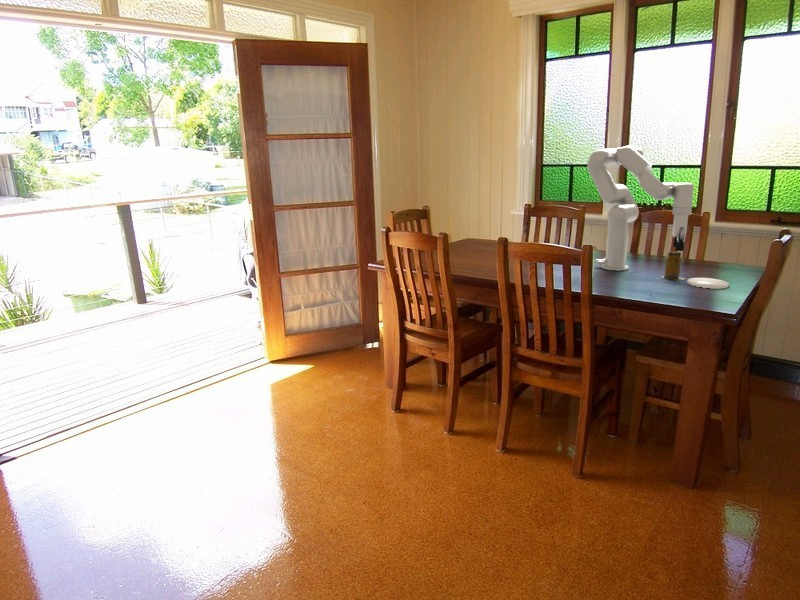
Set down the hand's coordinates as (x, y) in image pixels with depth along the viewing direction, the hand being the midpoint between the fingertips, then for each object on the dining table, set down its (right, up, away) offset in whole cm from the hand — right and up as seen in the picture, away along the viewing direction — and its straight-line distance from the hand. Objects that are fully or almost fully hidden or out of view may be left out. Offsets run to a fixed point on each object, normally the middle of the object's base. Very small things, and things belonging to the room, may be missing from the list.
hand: (678, 248), depth 246 cm
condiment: (0, -13, +5) cm, 14 cm away
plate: (+9, -16, -7) cm, 20 cm away
